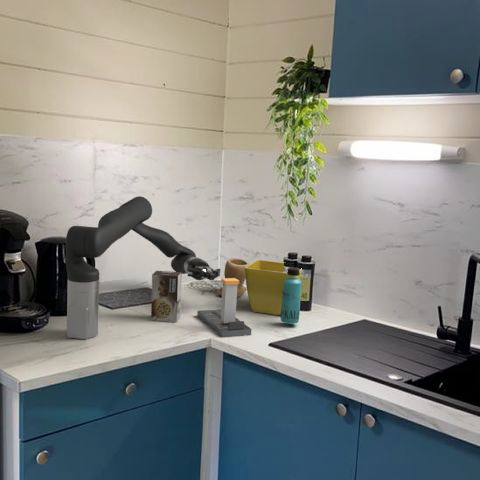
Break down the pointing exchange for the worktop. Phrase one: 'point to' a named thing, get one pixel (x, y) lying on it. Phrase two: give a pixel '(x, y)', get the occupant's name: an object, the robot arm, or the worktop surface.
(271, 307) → the flower pot
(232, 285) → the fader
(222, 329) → the console
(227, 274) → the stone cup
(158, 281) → the coffee box
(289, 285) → the beverage bottle
